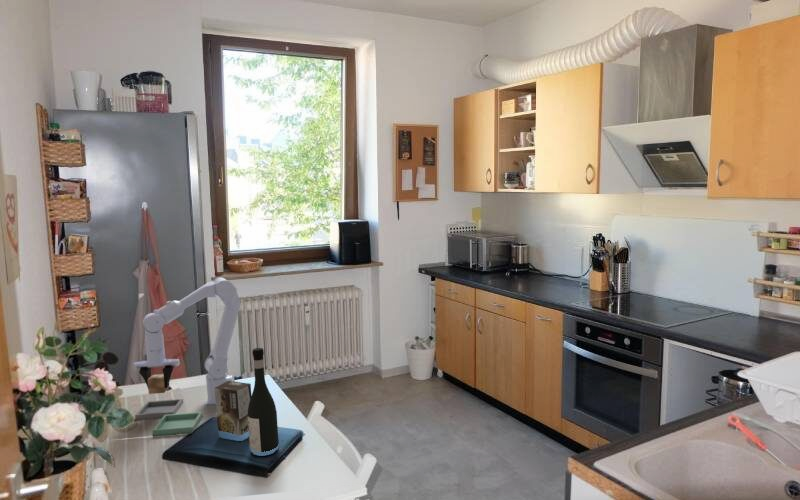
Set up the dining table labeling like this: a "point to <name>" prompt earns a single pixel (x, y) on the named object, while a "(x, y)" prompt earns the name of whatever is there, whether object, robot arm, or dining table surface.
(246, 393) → the coffee box
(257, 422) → the wine bottle
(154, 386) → the brown cardboard box
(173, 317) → the robot arm
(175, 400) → the charcoal tray
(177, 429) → the green tray
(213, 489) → the dining table surface
